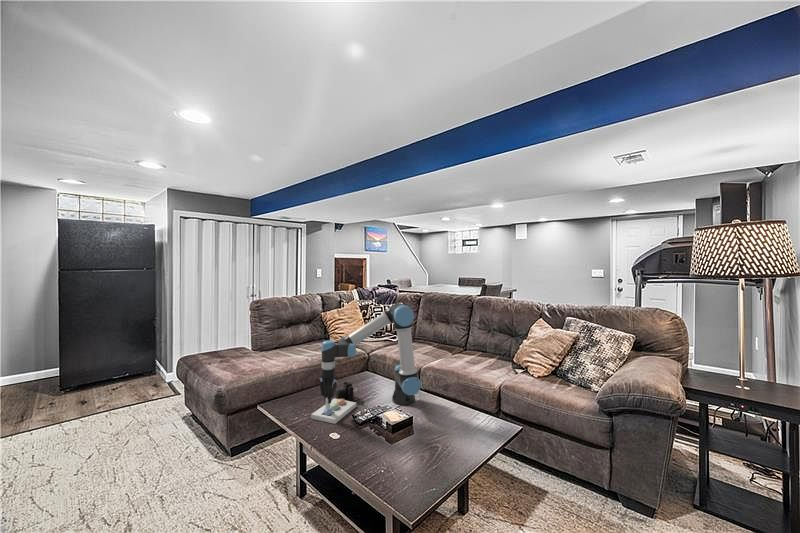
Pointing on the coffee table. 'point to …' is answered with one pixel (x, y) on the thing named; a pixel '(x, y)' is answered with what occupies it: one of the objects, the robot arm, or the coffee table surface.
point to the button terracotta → (341, 402)
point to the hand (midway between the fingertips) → (327, 408)
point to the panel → (334, 412)
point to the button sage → (335, 406)
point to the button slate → (328, 412)
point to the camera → (346, 392)
